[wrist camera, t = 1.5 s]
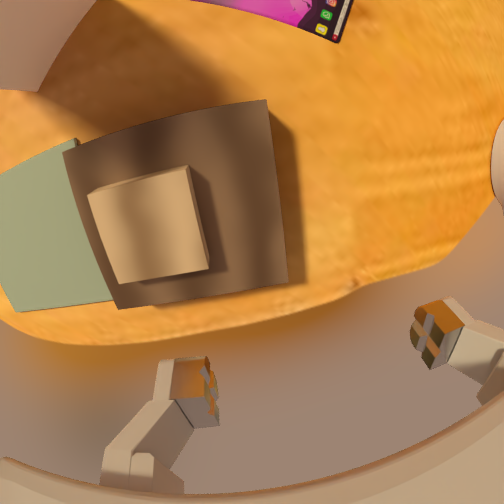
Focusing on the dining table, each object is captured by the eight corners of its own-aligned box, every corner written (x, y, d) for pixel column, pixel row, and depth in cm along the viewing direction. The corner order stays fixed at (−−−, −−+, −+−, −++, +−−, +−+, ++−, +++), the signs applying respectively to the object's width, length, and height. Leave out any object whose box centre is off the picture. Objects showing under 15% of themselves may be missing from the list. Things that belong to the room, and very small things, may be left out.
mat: (75, 137, 21) (73, 138, 21) (127, 295, 30) (126, 297, 29) (-32, 194, 21) (-34, 196, 21) (17, 310, 29) (15, 312, 29)
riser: (259, 102, 22) (266, 99, 19) (280, 261, 30) (288, 282, 26) (82, 145, 22) (61, 152, 18) (127, 287, 29) (118, 309, 26)
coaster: (188, 164, 20) (185, 169, 19) (209, 257, 24) (208, 268, 22) (96, 188, 20) (86, 195, 18) (125, 272, 24) (118, 284, 22)
